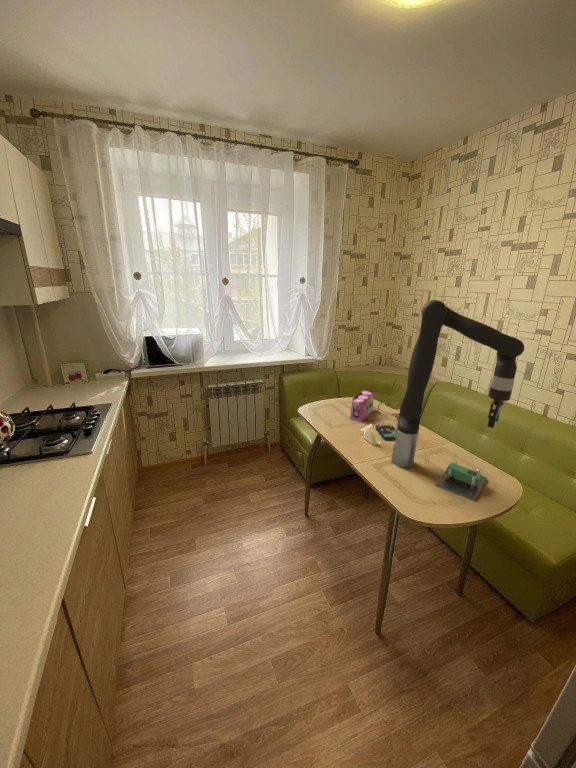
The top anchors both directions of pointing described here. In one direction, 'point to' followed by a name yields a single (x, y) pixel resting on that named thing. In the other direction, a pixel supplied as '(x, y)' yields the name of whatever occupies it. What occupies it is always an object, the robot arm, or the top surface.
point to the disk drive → (387, 432)
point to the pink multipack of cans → (362, 405)
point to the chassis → (461, 485)
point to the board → (464, 473)
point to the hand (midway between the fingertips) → (492, 423)
